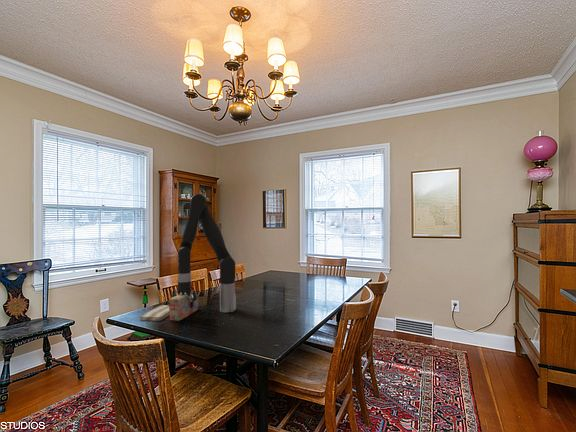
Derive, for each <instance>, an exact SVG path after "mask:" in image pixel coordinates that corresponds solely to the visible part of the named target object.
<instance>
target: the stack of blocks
mask: <svg viewBox="0 0 576 432" xmlns="http://www.w3.org/2000/svg"><path fill="white" fill-rule="evenodd" d="M191 295H192V297H193V294H191ZM187 296H188V295H179V294H176V296H175V297H173V298H172V297H171V298H169V299H168V301H169V302H168V303H169V304H168V305H169V315H168V318H169V319H168V320H169V321H174V322H180V321H181V320H184V319H185V318H187V317H189V316H190V315H192V314H193V313H194V312H197V311H198V310H199V294H197V300H195V301H194V306H193V308H190V300H189V299H188V298H187ZM189 297H190V295H189Z"/></svg>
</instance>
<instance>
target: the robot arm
mask: <svg viewBox="0 0 576 432" xmlns="http://www.w3.org/2000/svg"><path fill="white" fill-rule="evenodd" d="M189 202H190V207H189V208H190V209H189V212H188V213H189V214H188V218H187V220H186V223H185V227H184V229H183V233H182V237H181V242H180V246H179V248H178V251H177V257H178V258H177V260H178V265H177V272H178V274H177V289H174V290H172V295H171V298H173V297H175V296H177V295H188V296H187V298H188V299H189V300H190V308H193V306H194V301H195V300H197V295H198V294H197V289H194V290H192V272H191V269H192V267H191V257H192V256H191V255H192V254H191V252H192V249H193V243H194V242H195V239H196V235H197V231H198V226H199V222H200V226H201V228H202V231H203V234H204V237H206V240H207V242H208V244H209V245H210V247H211V248H212V250H213V252H214V253H215V255H216V258H217V261H218V265H219V312H220V313H234V312H235V310H236V309H237V294H236V262H235V260H234V258H233V257H232V256H231V254H230V252H229V251H228V249H227V246H226V244H225V240H224V237H223V234H222V231H221V229H220V228H219V226H218V224H217V222H216V220H215V219H214V218H213V216H212V215H211V213H210V209H209V207H208V204H207V198H206V197H205V196H204V195H203V194H201V193H196V194H193V196H191V198H190V200H189ZM189 295H190V297H189ZM192 295H193V297H192Z"/></svg>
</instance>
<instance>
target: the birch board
mask: <svg viewBox="0 0 576 432" xmlns="http://www.w3.org/2000/svg"><path fill="white" fill-rule="evenodd" d="M168 317H169V304H166V305H165V304H161V305H159V306H156V307H155V308H154V309H151V310H149V311H147V312H146V313H143V314H142V315H141V316H139V320H140V321H155V322H157V321H158V322H160V321H162V320H164V319H166V318H168Z"/></svg>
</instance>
